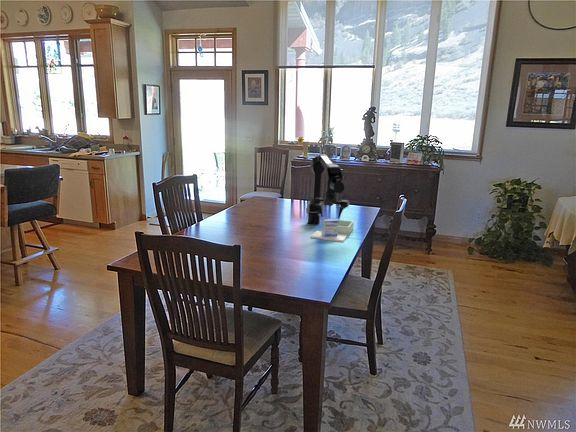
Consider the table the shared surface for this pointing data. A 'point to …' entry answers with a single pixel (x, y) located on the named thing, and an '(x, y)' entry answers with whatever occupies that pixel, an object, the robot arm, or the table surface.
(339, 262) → the table surface
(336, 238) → the tray
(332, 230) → the medicine box
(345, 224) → the sage bin
